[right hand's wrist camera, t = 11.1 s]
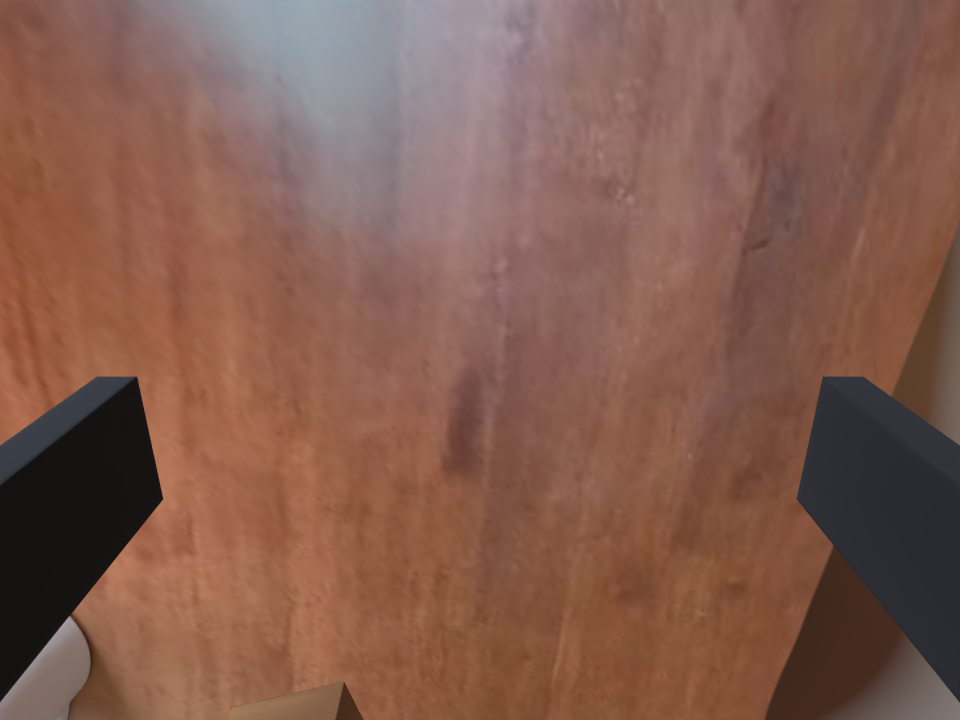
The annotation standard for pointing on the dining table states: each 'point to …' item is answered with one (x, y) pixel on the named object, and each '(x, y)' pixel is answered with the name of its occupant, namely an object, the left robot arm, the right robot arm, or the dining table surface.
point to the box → (302, 706)
